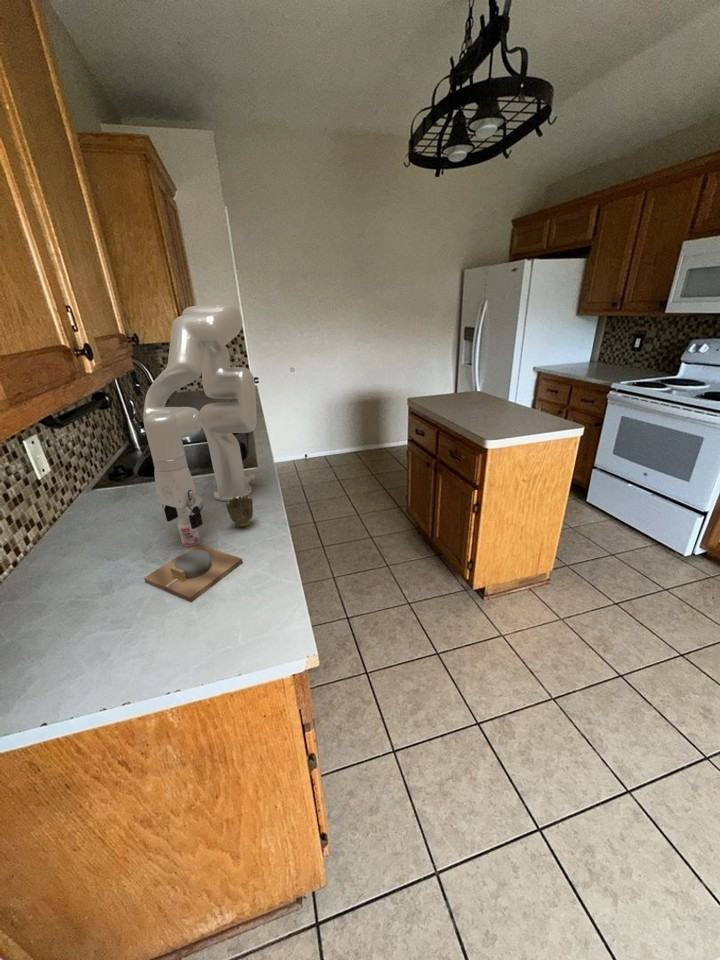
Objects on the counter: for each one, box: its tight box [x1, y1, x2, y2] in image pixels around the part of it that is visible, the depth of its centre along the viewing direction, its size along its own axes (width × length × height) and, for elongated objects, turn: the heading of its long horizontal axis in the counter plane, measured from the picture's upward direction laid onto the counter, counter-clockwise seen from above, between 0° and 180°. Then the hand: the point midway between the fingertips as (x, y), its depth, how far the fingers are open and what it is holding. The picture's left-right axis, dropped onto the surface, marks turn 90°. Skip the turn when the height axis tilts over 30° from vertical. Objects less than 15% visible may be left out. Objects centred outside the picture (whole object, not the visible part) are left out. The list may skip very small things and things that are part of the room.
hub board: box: [143, 543, 244, 603], centre depth 96 cm, size 16×16×4 cm
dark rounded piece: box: [225, 496, 254, 529], centre depth 115 cm, size 8×7×8 cm
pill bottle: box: [176, 511, 201, 547], centre depth 108 cm, size 5×5×8 cm
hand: (184, 522), depth 106 cm, fingers open, 9 cm apart
